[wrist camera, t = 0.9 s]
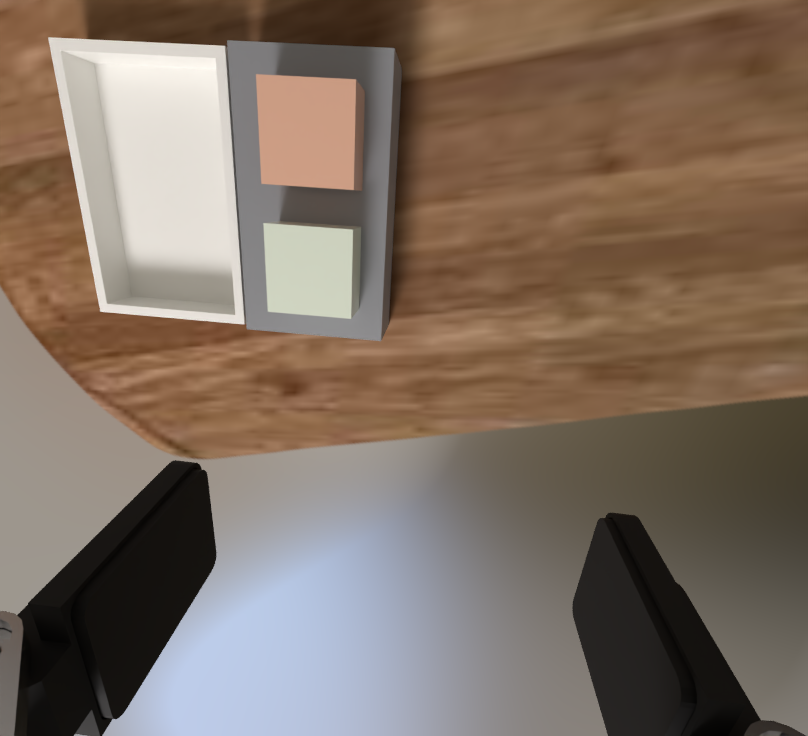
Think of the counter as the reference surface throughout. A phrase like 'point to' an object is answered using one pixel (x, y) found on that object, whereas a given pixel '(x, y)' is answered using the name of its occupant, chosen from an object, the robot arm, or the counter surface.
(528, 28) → the counter surface
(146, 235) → the tray
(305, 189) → the plate
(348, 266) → the tile
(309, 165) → the tile
